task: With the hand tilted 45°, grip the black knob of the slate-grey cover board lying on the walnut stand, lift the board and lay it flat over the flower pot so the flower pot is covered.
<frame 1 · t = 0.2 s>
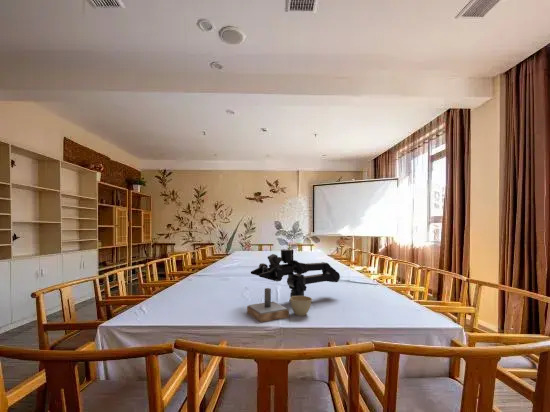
hand: (254, 274, 141), 17 cm above the table, tool horizontal, fingers open, 9 cm apart
stand: (267, 314, 130), on the table
flower pot: (300, 314, 132), on the table
cover: (267, 308, 130), point 3 cm above the table, touching stand
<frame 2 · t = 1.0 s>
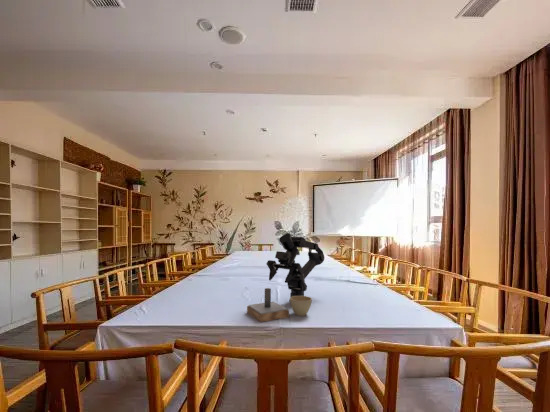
hand: (277, 281, 138), 14 cm above the table, tool tilted 45°, fingers open, 9 cm apart
nothing on the table moved.
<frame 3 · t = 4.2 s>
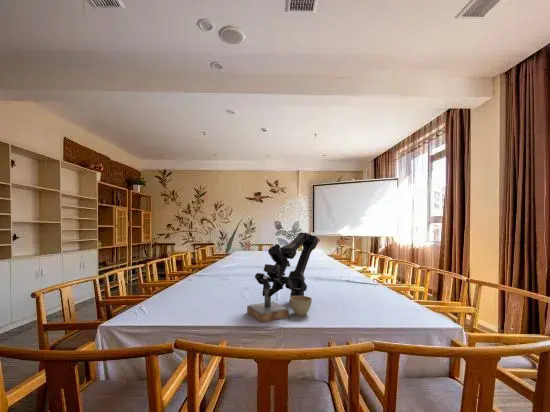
hand: (265, 296, 130), 9 cm above the table, tool tilted 45°, fingers closed on cover, 3 cm apart
cover: (267, 308, 130), point 3 cm above the table, touching gripper, stand
everything else where it was.
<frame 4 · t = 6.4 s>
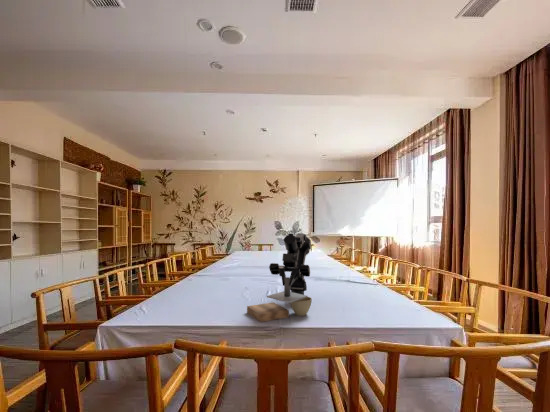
hand: (286, 285, 129), 14 cm above the table, tool tilted 45°, fingers closed on cover, 3 cm apart
cover: (287, 297, 130), point 8 cm above the table, touching gripper
everything else where it was.
when the fingers open (14 cm above the table, at t = 8.6 s): cover stays where it is, resting on flower pot.
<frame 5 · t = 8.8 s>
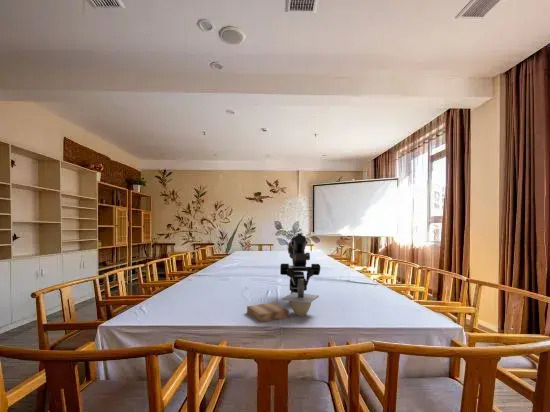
hand: (301, 284, 131), 14 cm above the table, tool tilted 45°, fingers open, 5 cm apart
flower pot: (300, 314, 132), on the table, touching cover
cover: (300, 298, 132), point 7 cm above the table, touching flower pot
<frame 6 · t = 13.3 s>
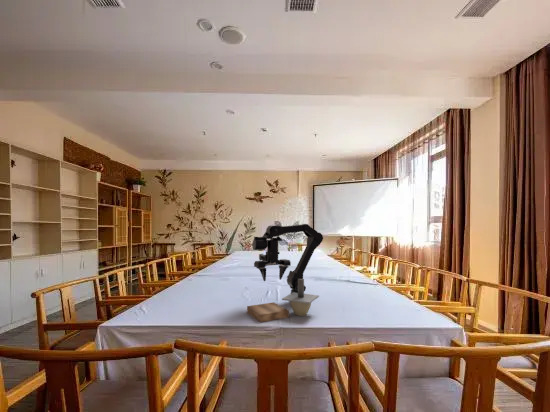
hand: (272, 280, 148), 12 cm above the table, tool pointing down, fingers open, 9 cm apart
nothing on the table moved.
at the end: cover 0.0 cm from the flower pot (horizontally); cover point 7.1 cm above the table; cover tilted 0° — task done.
